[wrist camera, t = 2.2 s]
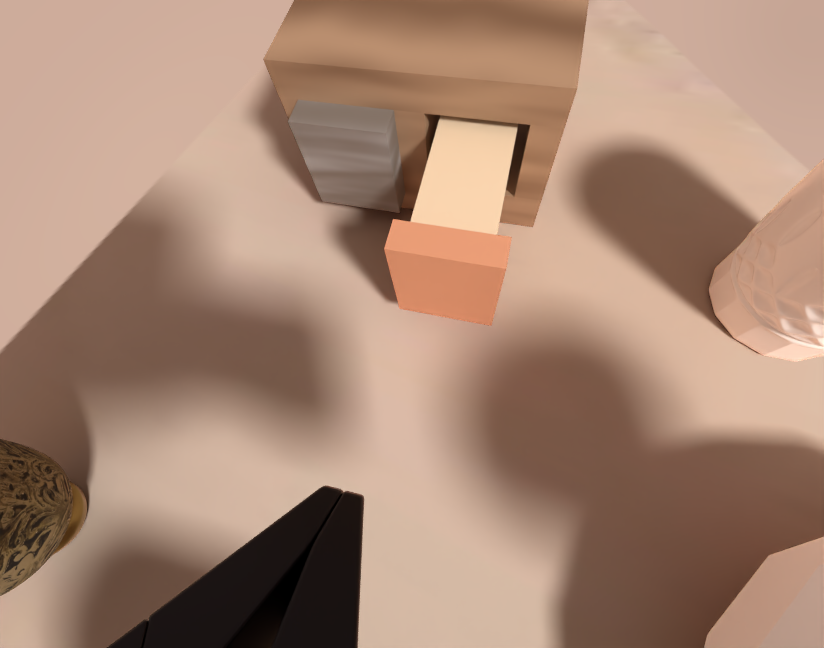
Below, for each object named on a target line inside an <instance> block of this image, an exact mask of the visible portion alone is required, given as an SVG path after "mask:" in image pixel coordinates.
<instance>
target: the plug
mask: <svg viewBox="0 0 824 648" xmlns="http://www.w3.org/2000/svg"><path fill="white" fill-rule="evenodd" d="M517 128H518V123H508V122H499V121H490V120H481V119H471V118H462V117H453V116H444V115H440V119H439V122H438V126H437V129H436V133H435V136H434V140H433V143H432V147H431V150H430V154H429V157H428V161H427V164H426V168H425V171H424V175H423V179H422V182H421V186H420V189H419V193H418V196H417V200H416V203H415V207H414V210H413V214H412V217H411V221H410V222H409V221H402V220H396V219H393V221H392V224H391V228H390V231H389V234H388V237H387V241H386V244H385V247H384V251H385V255H386V258H387V262H388V266H389V270H390V274H391V278H392V281H393V285H394V289H395V293H396V297H397V301H398V304H399V308H400V309H404V310H410V311H415V312H420V313H426V314H431V315H436V316H442V317H447V318H452V319H458V320H463V321H468V322H474V323H479V324H484V325H490V326H491V325H492V321H493V317H494V313H495V309H496V306H497V302H498V298H499V294H500V290H501V286H502V283H503V279H504V275H505V271H506V267H507V261H508V255H509V250H510V244H511V238H512V237H508V236H501V235H497V232H498V227H499V222H500V217H501V211H502V206H503V201H504V196H505V191H506V185H507V180H508V175H509V170H510V165H511V159H512V154H513V149H514V144H515V139H516V133H517Z"/></svg>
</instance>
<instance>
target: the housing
mask: <svg viewBox="0 0 824 648" xmlns="http://www.w3.org/2000/svg"><path fill="white" fill-rule="evenodd" d="M588 2H589V0H294V2H293V4H292V6H291V7H290V9H289V11H288V13H287V15H286V17H285V19H284V21H283V23H282V25H281V27H280V29H279V30H278V32H277V34H276V36H275V38H274V40H273V42H272V44H271V46H270V48H269V50H268V52H267V54H266V55H265V57H264V62H265V65H266V67H267V69H268V72H269V74H270V76H271V79H272V81H273V83H274V86H275V88H276V90H277V93H278V95H279V97H280V100H281V102H282V105H283V107H284V109H285V112H286V114H287V116H288V119H289V120H288V123H289V126H290V128H291V130H292V133H293V135H294V137H295V140H296V142H297V144H298V146H299V149H300V151H301V153H302V156H303V158H304V160H305V163H306V165H307V167H308V170H309V172H310V174H311V177H312V179H313V181H314V184H315V186H316V188H317V191H318V193H319V195H320V198H321V200H322V201H323V202H330V203H337V204H343V205H350V206H357V207H363V208H370V209H377V210H384V211H390V212H397V213H400V210H401V208H408V209H414V207H415V203H416V200H417V196H418V193H419V189H420V186H421V182H422V179H423V175H424V171H425V168H426V164H427V161H428V157H429V154H430V150H431V147H432V143H433V140H434V136H435V133H436V129H437V126H438V122H439V119H440V115H444V116H453V117H462V118H471V119H481V120H490V121H499V122H508V123H518V128H517V133H516V139H515V144H514V149H513V154H512V159H511V165H510V170H509V175H508V180H507V185H506V191H505V196H504V201H503V206H502V211H501V217H500V222H503V223H510V224H517V225H523V226H530V227H533V225H534V221H535V218H536V215H537V212H538V209H539V206H540V203H541V200H542V197H543V193H544V190H545V187H546V184H547V181H548V178H549V175H550V172H551V168H552V165H553V162H554V159H555V156H556V153H557V150H558V147H559V144H560V140H561V137H562V134H563V131H564V128H565V125H566V122H567V119H568V115H569V112H570V109H571V106H572V103H573V100H574V97H575V94H576V91H577V86H578V78H579V70H580V63H581V55H582V47H583V40H584V32H585V25H586V17H587V9H588Z"/></svg>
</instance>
